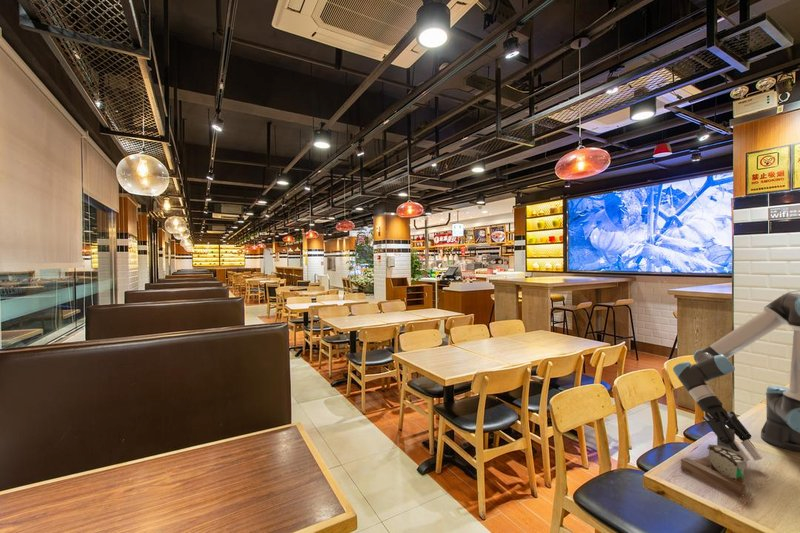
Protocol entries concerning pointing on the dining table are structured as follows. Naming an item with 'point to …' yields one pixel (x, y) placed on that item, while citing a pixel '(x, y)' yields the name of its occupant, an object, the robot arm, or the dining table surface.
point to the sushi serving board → (712, 476)
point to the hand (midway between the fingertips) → (752, 460)
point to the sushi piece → (727, 462)
